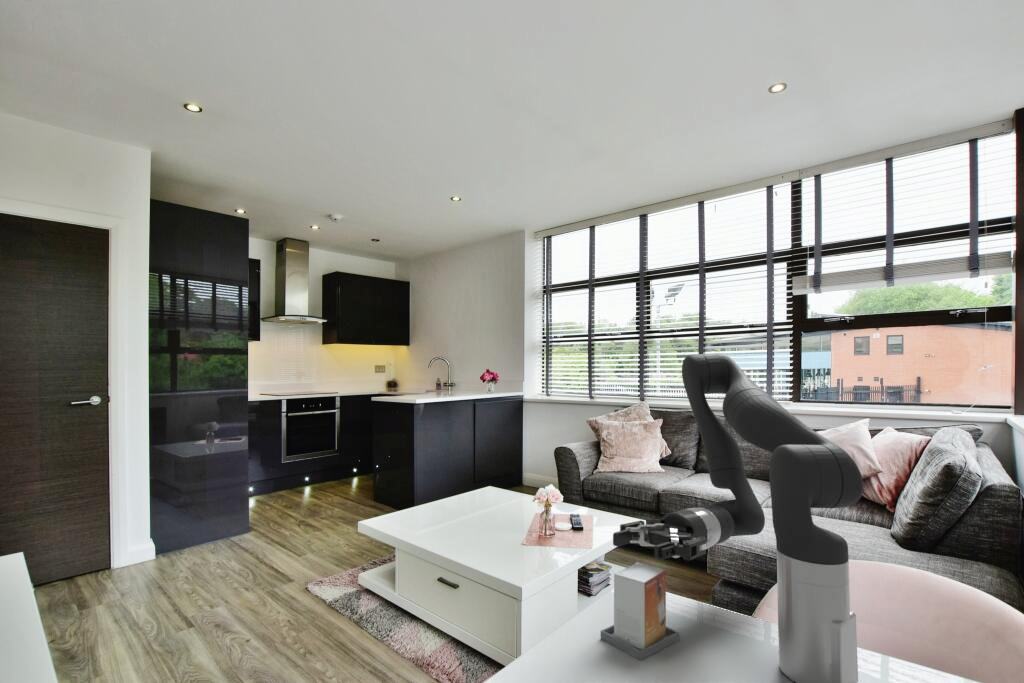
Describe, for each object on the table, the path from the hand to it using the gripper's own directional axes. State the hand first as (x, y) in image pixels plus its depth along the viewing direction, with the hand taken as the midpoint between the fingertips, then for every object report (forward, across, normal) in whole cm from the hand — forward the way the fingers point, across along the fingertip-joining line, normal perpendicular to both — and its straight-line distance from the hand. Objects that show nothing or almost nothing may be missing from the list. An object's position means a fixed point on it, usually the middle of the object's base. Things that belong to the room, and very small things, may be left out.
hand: (634, 546), depth 83 cm
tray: (-2, 0, +15) cm, 15 cm away
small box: (-2, 0, +15) cm, 15 cm away
